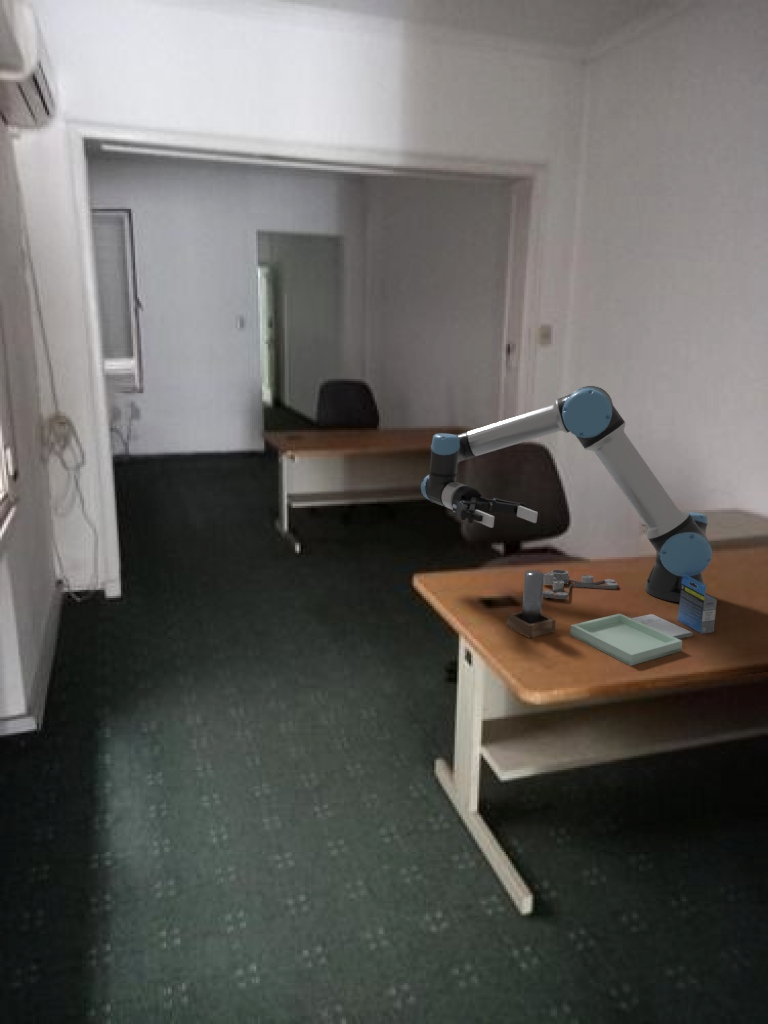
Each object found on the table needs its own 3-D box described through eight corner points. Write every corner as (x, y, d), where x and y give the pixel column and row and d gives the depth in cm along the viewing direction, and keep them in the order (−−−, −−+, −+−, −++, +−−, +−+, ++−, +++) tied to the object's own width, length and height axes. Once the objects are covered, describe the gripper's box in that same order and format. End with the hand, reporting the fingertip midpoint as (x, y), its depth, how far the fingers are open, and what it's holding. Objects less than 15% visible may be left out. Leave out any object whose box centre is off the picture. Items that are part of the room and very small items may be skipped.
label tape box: (714, 633, 166) (721, 584, 163) (699, 634, 165) (706, 585, 162) (690, 619, 174) (696, 572, 171) (675, 620, 173) (681, 573, 170)
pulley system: (515, 590, 195) (555, 604, 182) (516, 574, 194) (556, 587, 182) (584, 578, 209) (625, 590, 197) (585, 563, 208) (626, 574, 196)
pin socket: (532, 620, 172) (533, 608, 171) (554, 631, 165) (555, 620, 164) (506, 626, 168) (507, 614, 167) (528, 638, 161) (529, 626, 160)
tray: (618, 622, 171) (619, 613, 170) (681, 651, 156) (682, 640, 155) (570, 635, 163) (570, 625, 163) (630, 666, 148) (631, 655, 147)
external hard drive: (666, 644, 161) (627, 624, 172) (692, 638, 164) (652, 619, 175) (667, 637, 160) (627, 618, 171) (693, 631, 164) (653, 613, 175)
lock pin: (531, 624, 169) (535, 569, 166) (543, 630, 166) (547, 574, 162) (517, 627, 167) (520, 571, 164) (529, 634, 164) (533, 577, 160)
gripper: (497, 509, 193) (551, 530, 175) (422, 516, 180) (471, 539, 163) (500, 482, 191) (554, 501, 173) (424, 488, 178) (475, 508, 161)
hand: (514, 519), depth 168 cm, fingers open, 13 cm apart
